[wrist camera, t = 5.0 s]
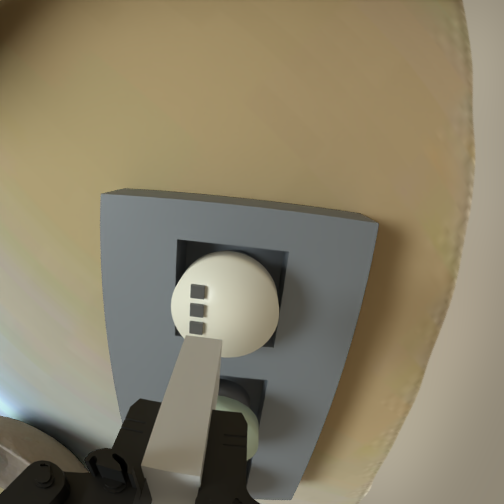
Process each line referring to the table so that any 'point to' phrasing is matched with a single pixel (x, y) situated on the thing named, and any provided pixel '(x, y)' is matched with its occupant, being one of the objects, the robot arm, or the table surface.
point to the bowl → (30, 450)
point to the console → (289, 299)
